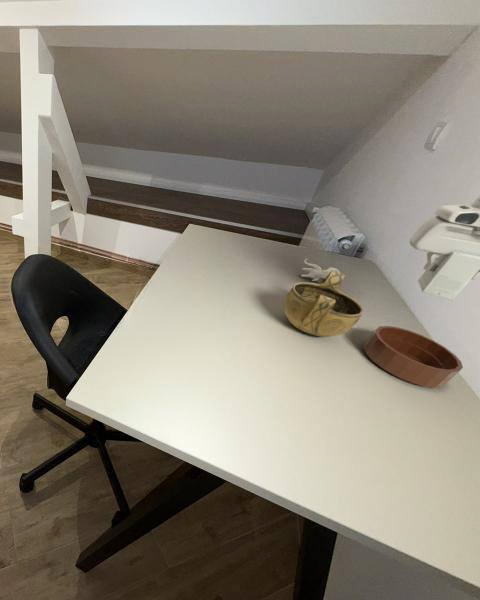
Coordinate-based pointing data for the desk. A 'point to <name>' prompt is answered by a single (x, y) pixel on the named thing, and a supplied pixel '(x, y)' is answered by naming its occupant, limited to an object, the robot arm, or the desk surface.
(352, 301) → the ceramic bowl
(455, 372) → the terracotta bowl
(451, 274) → the small box
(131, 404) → the desk surface
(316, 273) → the figurine
